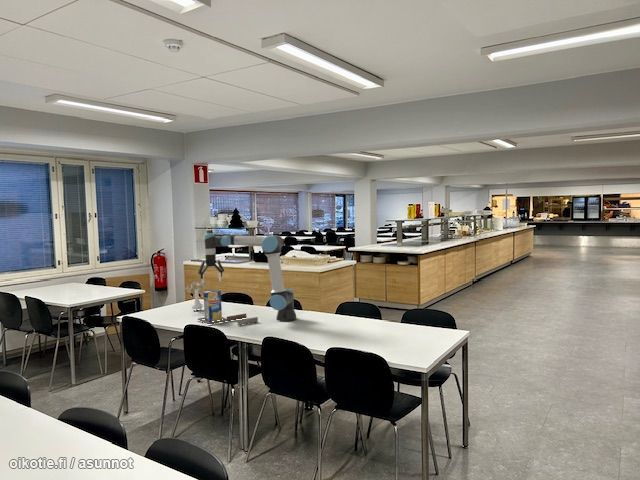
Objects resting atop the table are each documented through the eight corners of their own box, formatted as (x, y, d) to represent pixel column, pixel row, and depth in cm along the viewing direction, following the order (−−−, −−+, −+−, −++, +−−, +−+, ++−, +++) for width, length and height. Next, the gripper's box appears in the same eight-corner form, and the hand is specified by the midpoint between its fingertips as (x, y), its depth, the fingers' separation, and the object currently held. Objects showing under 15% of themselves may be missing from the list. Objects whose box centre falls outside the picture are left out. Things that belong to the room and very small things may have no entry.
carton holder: (257, 322, 344) (257, 317, 343) (238, 326, 334) (238, 320, 334) (245, 318, 358) (245, 313, 358) (226, 321, 348) (226, 316, 348)
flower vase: (183, 312, 389) (182, 282, 388) (198, 308, 406) (197, 279, 405) (195, 313, 384) (194, 283, 382) (210, 309, 400) (209, 280, 399)
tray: (228, 321, 348) (228, 319, 348) (208, 325, 338) (208, 322, 338) (217, 317, 364) (217, 315, 364) (197, 321, 354) (197, 318, 354)
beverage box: (204, 321, 350) (203, 292, 349) (217, 318, 357) (216, 290, 356) (209, 322, 345) (208, 293, 344) (222, 319, 352) (220, 291, 351)
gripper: (223, 252, 359) (224, 279, 360) (192, 255, 344) (193, 283, 345) (227, 253, 353) (229, 280, 354) (196, 255, 338) (198, 284, 339)
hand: (211, 282), depth 349 cm, fingers open, 13 cm apart
